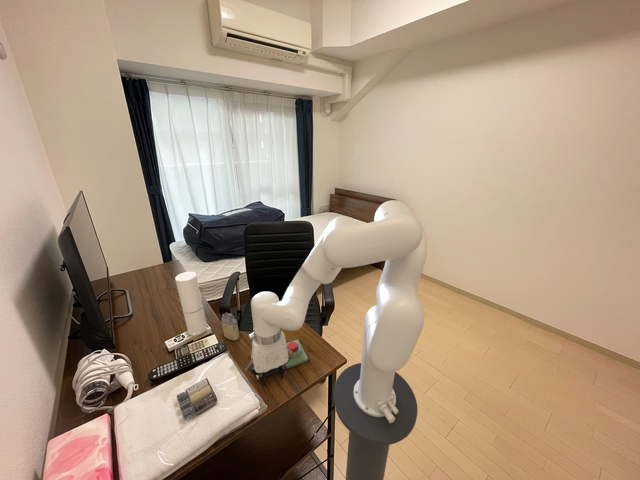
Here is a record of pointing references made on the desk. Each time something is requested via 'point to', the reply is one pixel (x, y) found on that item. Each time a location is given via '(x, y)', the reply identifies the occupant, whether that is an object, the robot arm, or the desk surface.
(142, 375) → the desk surface
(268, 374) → the lever
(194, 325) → the cylindrical container
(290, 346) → the button
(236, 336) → the yellow grey jar
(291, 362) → the control box
